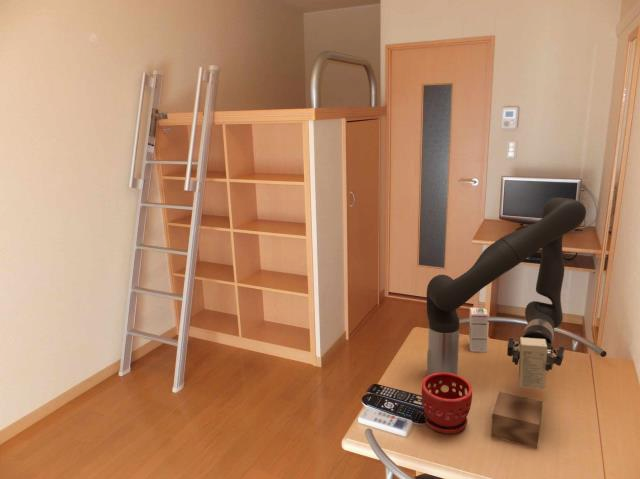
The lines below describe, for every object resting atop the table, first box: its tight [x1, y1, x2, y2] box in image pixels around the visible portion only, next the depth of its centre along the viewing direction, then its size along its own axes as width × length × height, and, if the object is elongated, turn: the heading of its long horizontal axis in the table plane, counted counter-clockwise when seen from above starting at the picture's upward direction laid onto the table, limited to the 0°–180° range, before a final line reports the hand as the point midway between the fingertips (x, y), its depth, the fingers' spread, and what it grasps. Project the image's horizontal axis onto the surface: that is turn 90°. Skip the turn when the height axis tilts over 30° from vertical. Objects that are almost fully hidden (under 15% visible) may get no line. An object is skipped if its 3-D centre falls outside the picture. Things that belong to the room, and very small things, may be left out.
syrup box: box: [468, 307, 489, 353], centre depth 169 cm, size 6×6×14 cm
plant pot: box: [421, 372, 473, 434], centre depth 130 cm, size 13×13×12 cm
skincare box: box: [518, 336, 547, 390], centre depth 123 cm, size 6×4×12 cm
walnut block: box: [490, 391, 544, 449], centre depth 127 cm, size 11×11×7 cm
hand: (531, 364), depth 121 cm, fingers closed on skincare box, 6 cm apart
